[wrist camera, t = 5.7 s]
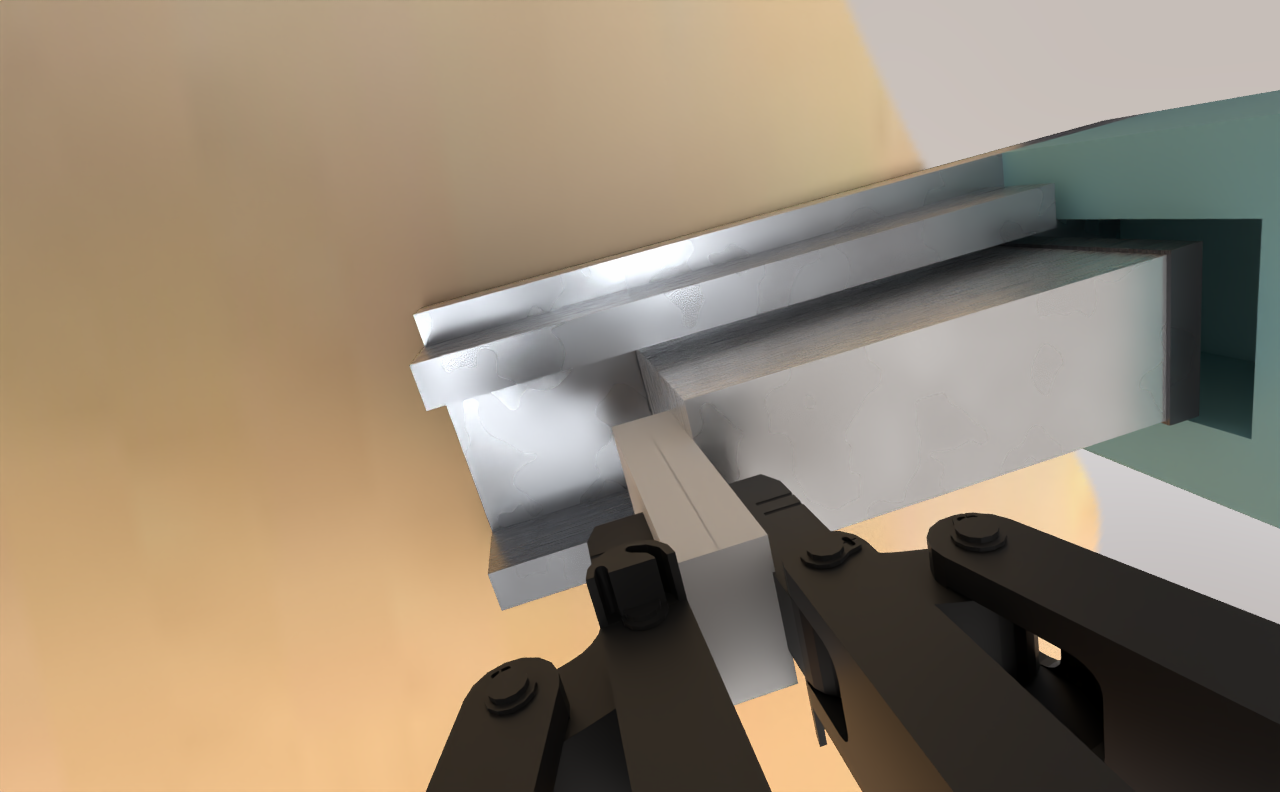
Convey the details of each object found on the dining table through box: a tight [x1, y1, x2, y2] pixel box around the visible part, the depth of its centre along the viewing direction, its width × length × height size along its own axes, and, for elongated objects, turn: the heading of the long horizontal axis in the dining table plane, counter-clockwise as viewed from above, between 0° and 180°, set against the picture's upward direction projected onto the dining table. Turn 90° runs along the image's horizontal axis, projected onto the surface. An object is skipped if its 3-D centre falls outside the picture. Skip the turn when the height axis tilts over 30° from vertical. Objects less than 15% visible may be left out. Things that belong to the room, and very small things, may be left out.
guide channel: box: [409, 114, 1142, 610], centre depth 19 cm, size 9×23×4 cm, turn 104°
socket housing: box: [1002, 90, 1280, 528], centre depth 17 cm, size 9×5×8 cm, turn 14°
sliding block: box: [636, 236, 1203, 531], centre depth 17 cm, size 4×12×6 cm, turn 104°
